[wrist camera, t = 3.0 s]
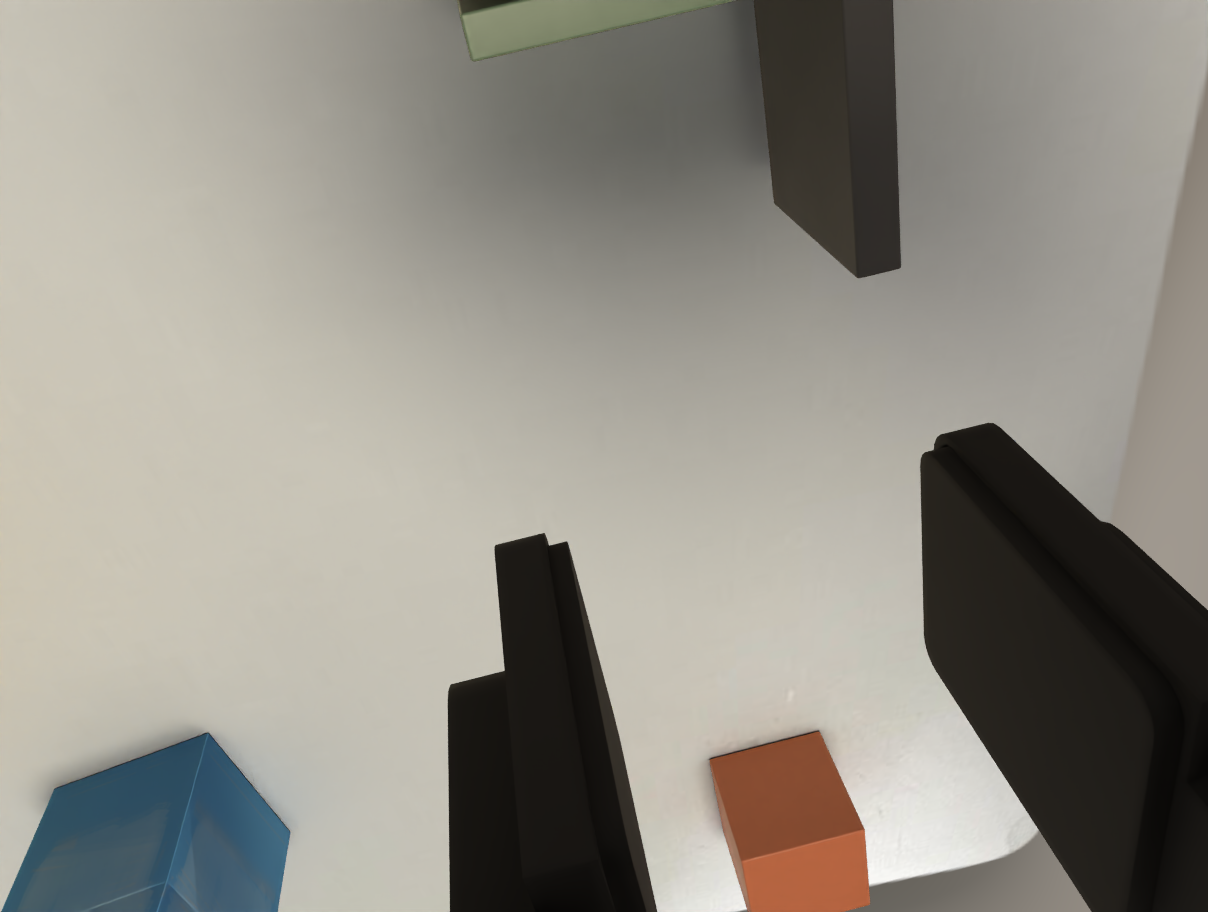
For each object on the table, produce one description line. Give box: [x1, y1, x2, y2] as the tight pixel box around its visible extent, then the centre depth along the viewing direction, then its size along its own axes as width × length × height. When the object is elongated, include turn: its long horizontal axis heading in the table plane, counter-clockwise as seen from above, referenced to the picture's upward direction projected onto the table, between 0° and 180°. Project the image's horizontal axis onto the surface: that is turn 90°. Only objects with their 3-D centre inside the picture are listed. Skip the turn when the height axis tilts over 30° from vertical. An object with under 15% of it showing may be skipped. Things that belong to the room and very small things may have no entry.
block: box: [710, 732, 870, 912], centre depth 39 cm, size 5×5×5 cm
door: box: [457, 0, 901, 278], centre depth 22 cm, size 9×7×9 cm
